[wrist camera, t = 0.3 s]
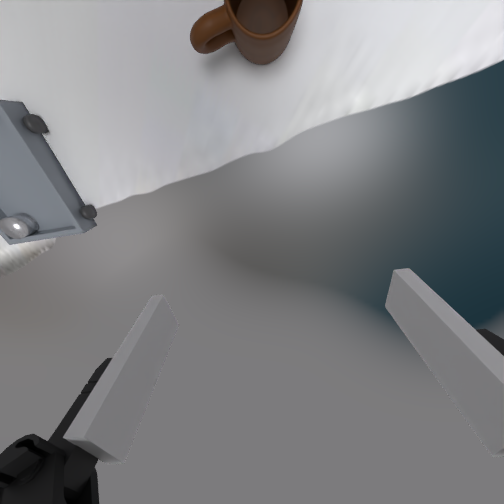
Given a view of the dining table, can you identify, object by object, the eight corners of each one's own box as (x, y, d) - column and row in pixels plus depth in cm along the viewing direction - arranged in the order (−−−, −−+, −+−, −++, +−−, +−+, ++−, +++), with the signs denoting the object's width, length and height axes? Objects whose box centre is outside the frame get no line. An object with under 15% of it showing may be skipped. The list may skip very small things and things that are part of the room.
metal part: (10, 214, 38) (-7, 220, 36) (29, 211, 38) (12, 217, 35) (26, 233, 40) (10, 240, 38) (44, 230, 40) (29, 237, 37)
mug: (220, 95, 29) (206, 83, 21) (190, 27, 26) (160, -18, 18) (300, 46, 27) (319, 10, 18) (279, -38, 23) (291, -127, 15)
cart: (-74, 125, 32) (-108, 125, 29) (31, 100, 30) (6, 97, 27) (20, 237, 42) (2, 245, 39) (103, 224, 40) (91, 231, 37)
